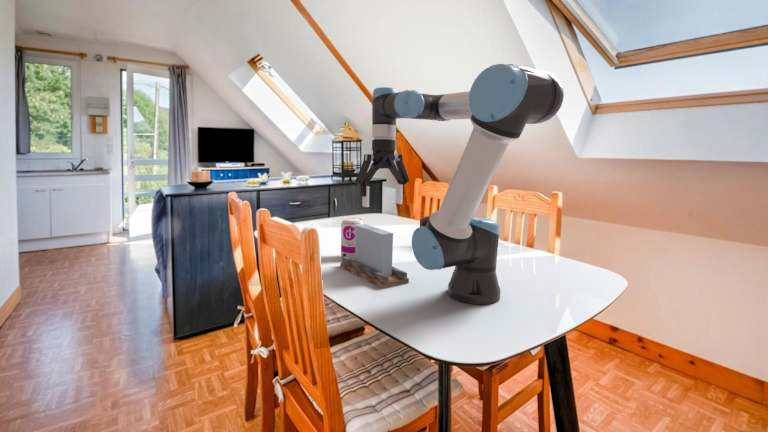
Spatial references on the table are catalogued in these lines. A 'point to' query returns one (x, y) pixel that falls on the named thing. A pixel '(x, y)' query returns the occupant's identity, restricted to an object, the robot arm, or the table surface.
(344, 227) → the supplement can
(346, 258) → the floor track
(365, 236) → the sliding panel
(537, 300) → the table surface
